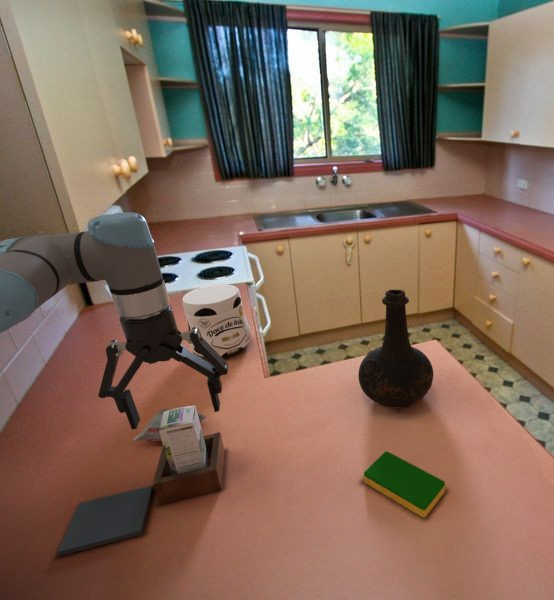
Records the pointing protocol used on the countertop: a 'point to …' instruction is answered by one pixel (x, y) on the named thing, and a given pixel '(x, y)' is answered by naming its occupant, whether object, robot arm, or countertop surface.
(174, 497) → the holder
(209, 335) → the doce de leite jar
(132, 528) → the mat
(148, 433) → the packaged food
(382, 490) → the dish sponge
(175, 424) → the syrup box
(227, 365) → the robot arm
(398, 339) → the glass bottle
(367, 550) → the countertop surface
